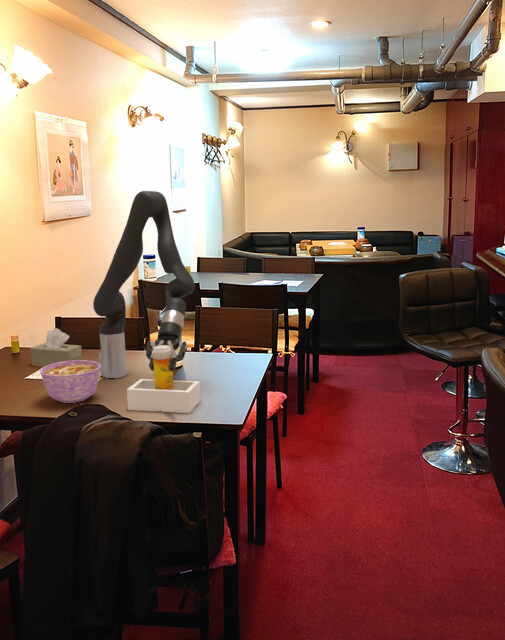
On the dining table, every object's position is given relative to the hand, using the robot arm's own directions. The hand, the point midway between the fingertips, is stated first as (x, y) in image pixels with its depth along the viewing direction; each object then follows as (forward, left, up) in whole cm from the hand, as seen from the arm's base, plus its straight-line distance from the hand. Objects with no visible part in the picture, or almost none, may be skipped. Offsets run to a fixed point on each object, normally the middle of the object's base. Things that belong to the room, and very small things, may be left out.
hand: (161, 369), depth 207 cm
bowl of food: (-34, +3, -13) cm, 36 cm away
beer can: (0, +2, -8) cm, 8 cm away
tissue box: (-62, +44, -13) cm, 77 cm away
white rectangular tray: (0, +2, -13) cm, 13 cm away
